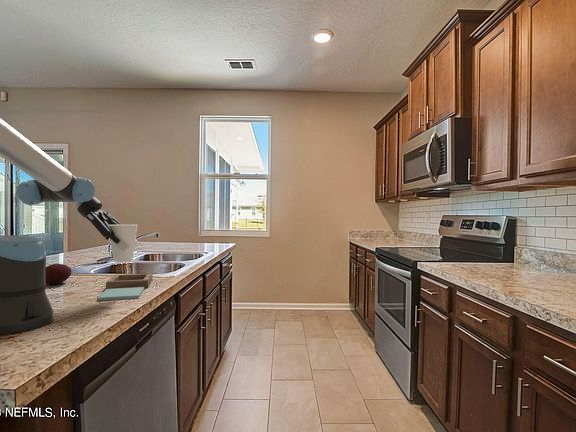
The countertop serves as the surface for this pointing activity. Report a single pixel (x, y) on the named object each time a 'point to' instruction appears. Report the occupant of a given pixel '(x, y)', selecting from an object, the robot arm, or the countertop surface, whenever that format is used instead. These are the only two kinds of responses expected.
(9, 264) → the robot arm
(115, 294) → the mat
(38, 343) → the countertop surface
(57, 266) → the potato
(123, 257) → the foam cup
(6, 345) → the countertop surface
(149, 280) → the brown flat square frame
